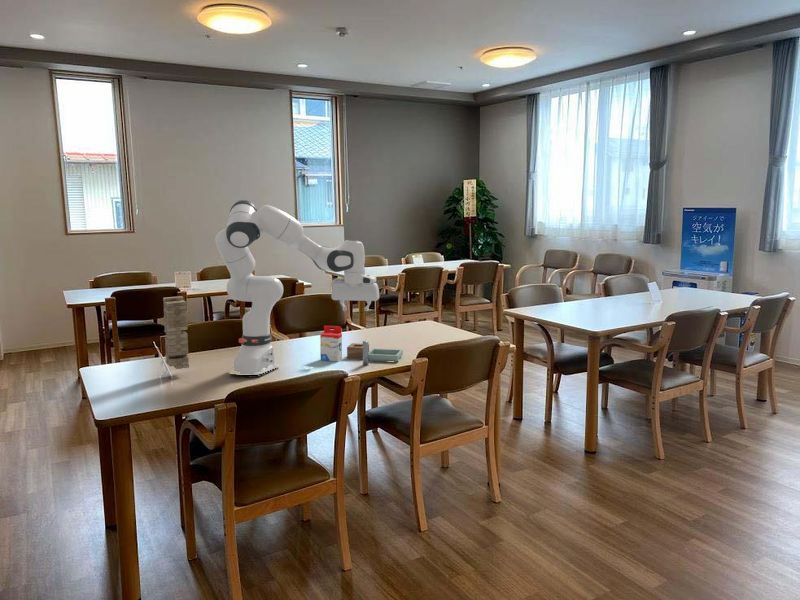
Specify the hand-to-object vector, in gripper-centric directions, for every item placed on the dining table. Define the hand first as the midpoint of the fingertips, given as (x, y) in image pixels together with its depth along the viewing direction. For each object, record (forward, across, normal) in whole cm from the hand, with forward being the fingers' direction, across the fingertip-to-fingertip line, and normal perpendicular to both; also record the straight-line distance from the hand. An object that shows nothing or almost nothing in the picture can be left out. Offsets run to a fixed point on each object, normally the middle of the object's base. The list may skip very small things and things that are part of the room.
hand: (355, 310), depth 255 cm
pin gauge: (+22, +5, -3) cm, 23 cm away
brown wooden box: (+23, -2, +11) cm, 25 cm away
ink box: (+23, -12, +3) cm, 26 cm away
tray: (+23, +10, +9) cm, 27 cm away
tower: (+22, -71, -21) cm, 78 cm away
